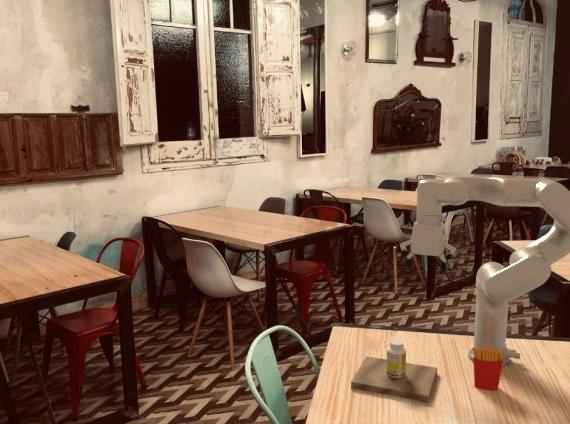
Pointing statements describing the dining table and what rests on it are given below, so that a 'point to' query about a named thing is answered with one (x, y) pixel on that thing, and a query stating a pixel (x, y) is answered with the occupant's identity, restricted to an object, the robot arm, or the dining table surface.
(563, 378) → the dining table surface
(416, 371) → the walnut board
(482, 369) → the french fries
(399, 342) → the supplement bottle
